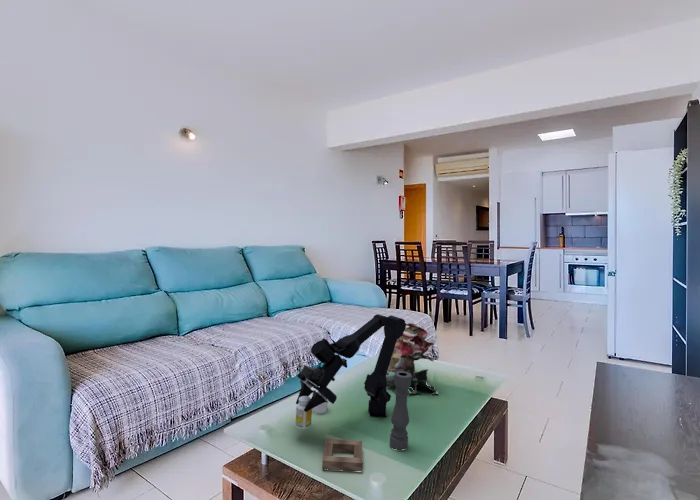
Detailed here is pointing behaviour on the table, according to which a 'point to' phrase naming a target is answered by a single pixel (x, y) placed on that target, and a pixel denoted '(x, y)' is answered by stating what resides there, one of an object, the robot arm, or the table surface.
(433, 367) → the table surface
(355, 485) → the table surface
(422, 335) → the rose bouquet
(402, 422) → the candle holder
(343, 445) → the socket block
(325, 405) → the shot glass
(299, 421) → the supplement bottle
